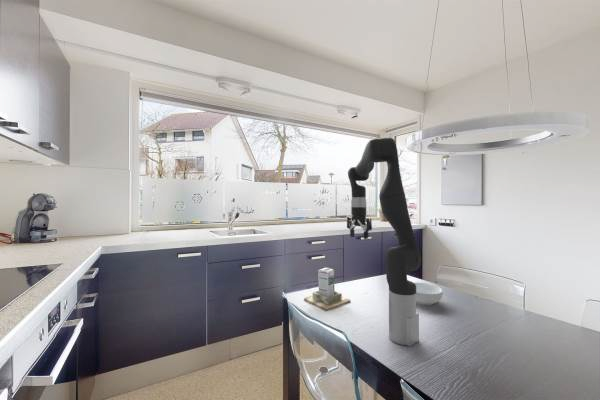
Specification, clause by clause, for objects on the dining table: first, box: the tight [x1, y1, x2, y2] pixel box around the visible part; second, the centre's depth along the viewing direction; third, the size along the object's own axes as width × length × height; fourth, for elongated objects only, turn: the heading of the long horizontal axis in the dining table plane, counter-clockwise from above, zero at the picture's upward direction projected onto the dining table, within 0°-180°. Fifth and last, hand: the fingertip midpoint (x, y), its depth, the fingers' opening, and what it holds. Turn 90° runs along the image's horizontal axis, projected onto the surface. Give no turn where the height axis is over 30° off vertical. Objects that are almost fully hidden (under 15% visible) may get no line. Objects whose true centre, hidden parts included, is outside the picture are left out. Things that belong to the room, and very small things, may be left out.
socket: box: [303, 290, 351, 311], centre depth 130 cm, size 16×16×4 cm
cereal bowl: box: [414, 282, 443, 306], centre depth 128 cm, size 17×17×7 cm
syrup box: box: [317, 267, 335, 297], centre depth 131 cm, size 6×6×14 cm
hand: (359, 237), depth 136 cm, fingers open, 8 cm apart
